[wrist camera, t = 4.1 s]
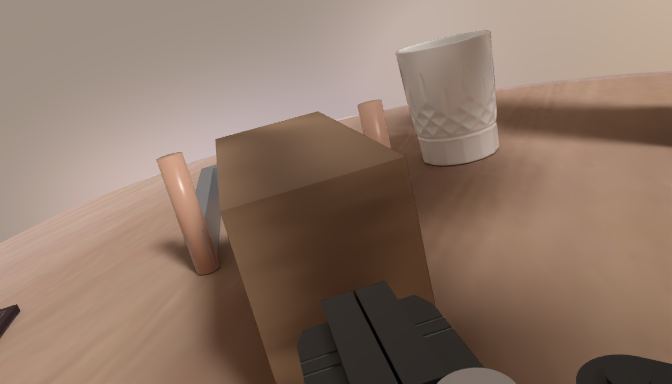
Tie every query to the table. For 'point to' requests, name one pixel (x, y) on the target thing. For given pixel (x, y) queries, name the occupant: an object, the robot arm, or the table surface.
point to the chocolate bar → (7, 317)
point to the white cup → (452, 97)
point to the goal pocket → (203, 205)
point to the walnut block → (315, 224)
